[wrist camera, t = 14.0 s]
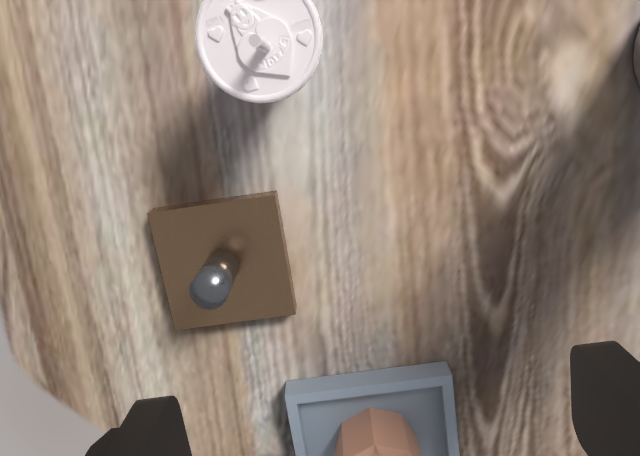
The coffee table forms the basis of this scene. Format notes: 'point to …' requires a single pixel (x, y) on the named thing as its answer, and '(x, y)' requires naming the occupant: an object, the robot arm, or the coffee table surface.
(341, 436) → the ring
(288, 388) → the tray
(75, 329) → the coffee table surface
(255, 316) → the brown square stand
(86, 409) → the coffee table surface
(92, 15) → the coffee table surface
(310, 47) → the smoothie
